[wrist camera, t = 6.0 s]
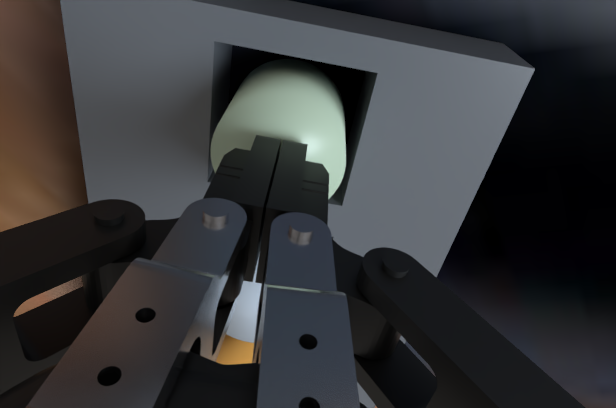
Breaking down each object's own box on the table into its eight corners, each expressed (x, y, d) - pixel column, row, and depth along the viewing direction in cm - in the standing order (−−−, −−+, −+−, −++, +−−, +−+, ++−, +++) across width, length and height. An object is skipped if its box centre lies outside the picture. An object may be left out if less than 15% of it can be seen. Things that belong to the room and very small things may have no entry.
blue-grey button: (226, 205, 18) (204, 261, 15) (320, 222, 18) (316, 280, 15) (220, 274, 20) (201, 334, 17) (304, 288, 20) (298, 350, 18)
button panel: (104, -37, 15) (56, -27, 12) (502, 43, 15) (535, 68, 13) (135, 339, 26) (113, 384, 23) (363, 375, 26) (366, 423, 24)
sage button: (239, 48, 14) (214, 82, 11) (356, 71, 15) (360, 110, 12) (230, 153, 17) (207, 204, 14) (332, 171, 17) (330, 225, 14)
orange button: (221, 296, 22) (204, 353, 20) (297, 308, 23) (291, 367, 20) (217, 344, 25) (201, 401, 22) (286, 355, 25) (279, 413, 22)
